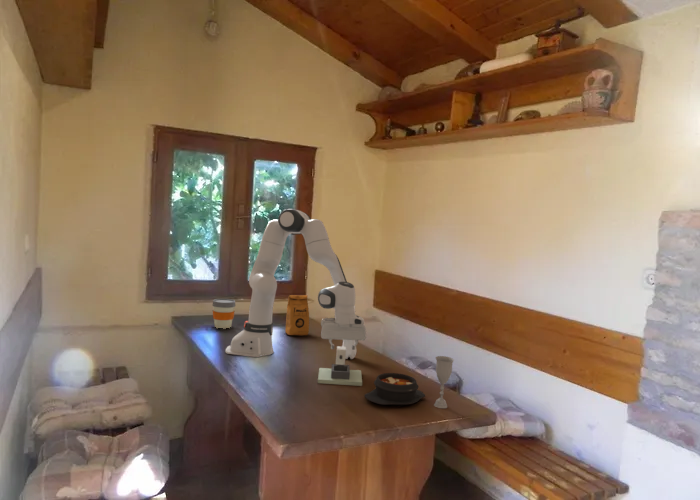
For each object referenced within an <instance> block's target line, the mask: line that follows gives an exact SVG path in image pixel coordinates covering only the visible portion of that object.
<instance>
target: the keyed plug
mask: <svg viewBox="0 0 700 500" xmlns="http://www.w3.org/2000/svg"><path fill="white" fill-rule="evenodd" d="M342 346H343V345H341V346H339V345H337V346H336V356H335V364H340V365H346V359H345V356H346V347H342Z"/></svg>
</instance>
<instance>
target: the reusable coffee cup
mask: <svg viewBox="0 0 700 500" xmlns="http://www.w3.org/2000/svg"><path fill="white" fill-rule="evenodd" d="M235 307H236V300H235V299H230V298H215V299H213V301H212V308H213V310H212V317H213V322H214V328H215V327H216V328H215V329H218V328H223V329H222V330H226V328H229V329H231V328H232V324H233V320H234V317H235ZM230 327H231V328H230Z"/></svg>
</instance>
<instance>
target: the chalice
mask: <svg viewBox="0 0 700 500" xmlns="http://www.w3.org/2000/svg"><path fill="white" fill-rule="evenodd" d="M435 360H436V364H435V372H436V377H437V380H438V381H439V382H438V383H440V384H441V385H440V387H439V388H440V392H439V398H436V400H435V402H434V404H433V406H434V407H435V408H437V409H447V408H448V404H447V401H446V400H445V399H444V397H443V396H444V394H445V392H444V390H445V386H444V385H445V384H447V383H448V381H449V380H450V378H451V375H452V372H453V363H454V361H455V359H454V358H452V357H450V356H445V355H444V356H443V355H438V356H435Z"/></svg>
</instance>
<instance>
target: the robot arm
mask: <svg viewBox="0 0 700 500" xmlns="http://www.w3.org/2000/svg"><path fill="white" fill-rule="evenodd" d="M289 235H292V236H294V235H302V236H303V239H304V243H305V248H306V252H307V255H308V256H309V258H310V259H311V260H312V261H313V262H315V263H318V264H320V265H323V266H324V267H325V268H327V270H328V271H329V274H330V276H331V279H332V282H333V285H331V286H328V287H324V288H322V289H320V291H318V295H317V302H318V304H319V305H320V306H321V308H323V309H327V310H330V309H334V317H324V318H322V319H321V320H320V326H321V333H320V337H321V339H323V340H328V343H329V344H330V349H331V350H335V344H334V343H333V340H342V341H343V340H355V344H354V345H352V350H355V346H356V347H357V346H358V344H359V341H365V340H366V339H367V330H366V324H365V319H364V318H363V317H362V316H361V315H357V314H356V312H355V311H356V310H355V311H354V306H355V305H356V288H355V286H354V284H353V283H351V282H349V281H347V278H346V275H345V272H344V269H343V267H342V264H341V262H340V259H339V257H338V255H337V254H336V253H335V252H334V249H333V248H332V245H331V243H330V238H329V234H328V232H327V229H326V226H325V225H324V222H323V221H322V220H320V219H317V218H313V219H312V218H311V217H310V216H309V214H307V213H306V212H303V211H302V210H300V209H295V208H286V209H284V210H282V211H281V212H280V213H279V215H278V217H277V219H272V220H271V219H270V221H268V223H267V225H266V226H265V229H264V232H263V235H262V237H261V242H260V245H259V249H258V253H257V256H256V259H255V260H254V263H253V267H252V269H251V271H250V275H249V278H248V284H249V287H250V288H251V290H252V291H251V298H250V303H249V307H248V308H249V309H248V310H249V311H248V320H245V321H244V323H243V330H241V331H240V332H238V333H237V334H236V335H235V336H233V337H232V339H231V342H230V345H228V346H226V347H225V353H226V354H228V355H235V356H244V357H252V358H259V357H263V356H264V357H265V356H270V355H271V354H274V348H273V347H274V346H273V339H272V338H273V337H272V336H273V331H274V326H273V325H274V324H273V310H274V304H275V299H276V294H277V289H278V282H277V279H276V277H275V274H276V271H277V269H278V266H279V265H280V263H281V260H282V258H283V253H284V250H285V244H286V243H287V242H286V241H287V238H288V237H289Z"/></svg>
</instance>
